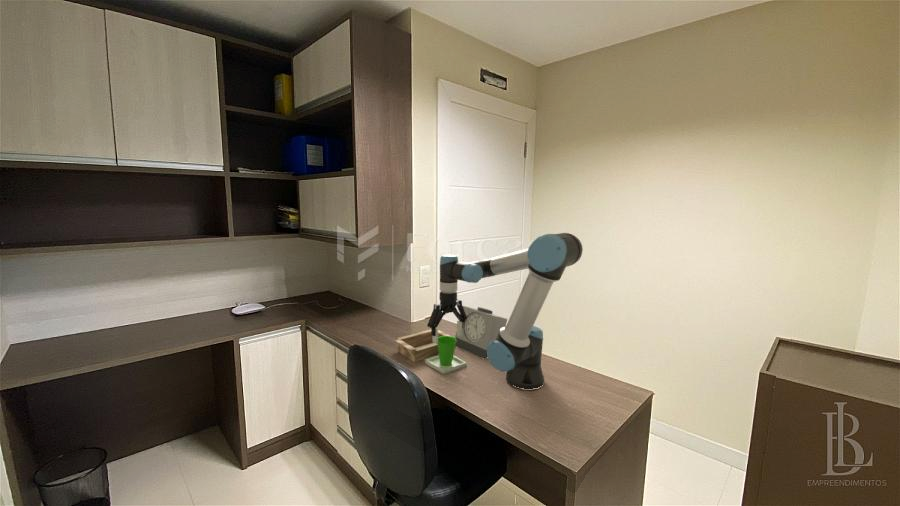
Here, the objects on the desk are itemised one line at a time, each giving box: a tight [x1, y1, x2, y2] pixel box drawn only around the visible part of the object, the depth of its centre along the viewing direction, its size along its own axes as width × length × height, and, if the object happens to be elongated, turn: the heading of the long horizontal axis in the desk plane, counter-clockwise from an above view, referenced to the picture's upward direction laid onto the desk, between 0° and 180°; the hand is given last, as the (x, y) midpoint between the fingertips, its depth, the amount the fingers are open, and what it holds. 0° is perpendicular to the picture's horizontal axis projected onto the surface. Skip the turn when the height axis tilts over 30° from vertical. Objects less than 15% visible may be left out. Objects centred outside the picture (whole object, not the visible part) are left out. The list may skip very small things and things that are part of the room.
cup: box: [438, 335, 457, 366], centre depth 159 cm, size 9×9×11 cm
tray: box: [424, 354, 468, 376], centre depth 160 cm, size 13×13×2 cm
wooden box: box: [394, 329, 451, 363], centre depth 173 cm, size 17×25×6 cm
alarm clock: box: [454, 305, 508, 360], centre depth 179 cm, size 20×16×20 cm
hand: (447, 339), depth 158 cm, fingers open, 13 cm apart
